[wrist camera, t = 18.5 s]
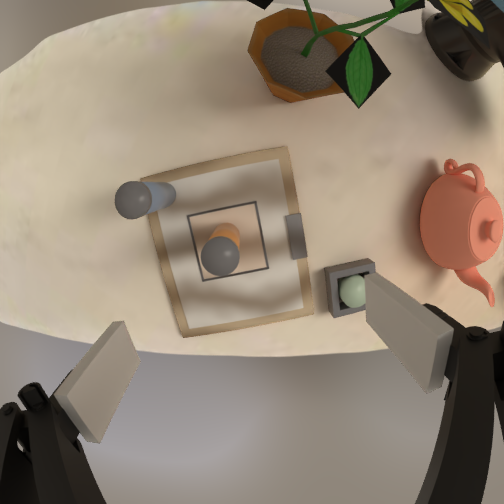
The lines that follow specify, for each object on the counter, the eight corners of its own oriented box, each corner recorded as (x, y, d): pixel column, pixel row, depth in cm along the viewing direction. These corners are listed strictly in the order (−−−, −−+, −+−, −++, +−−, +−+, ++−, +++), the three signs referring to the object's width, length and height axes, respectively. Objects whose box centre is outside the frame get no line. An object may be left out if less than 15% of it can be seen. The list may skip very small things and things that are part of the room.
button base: (324, 267, 39) (329, 273, 37) (367, 258, 39) (374, 262, 37) (329, 311, 41) (333, 318, 38) (370, 300, 41) (376, 306, 38)
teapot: (475, 270, 41) (518, 291, 29) (417, 296, 41) (460, 328, 29) (465, 155, 36) (515, 153, 24) (401, 165, 36) (454, 162, 24)
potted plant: (370, 123, 35) (543, 64, 5) (246, 152, 35) (261, 34, 6) (329, 24, 31) (414, -102, 1) (210, 44, 31) (171, -121, 2)
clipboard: (142, 178, 36) (138, 178, 34) (286, 147, 35) (288, 145, 34) (183, 335, 41) (182, 339, 40) (312, 311, 41) (315, 315, 39)
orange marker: (210, 226, 36) (195, 244, 25) (235, 218, 36) (232, 233, 25) (218, 251, 37) (207, 280, 25) (243, 243, 37) (244, 269, 25)
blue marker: (149, 185, 35) (110, 188, 23) (173, 178, 35) (143, 176, 23) (155, 210, 36) (120, 223, 24) (180, 203, 36) (153, 213, 24)
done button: (334, 275, 39) (341, 282, 36) (362, 269, 39) (370, 275, 36) (337, 302, 40) (343, 311, 37) (363, 296, 40) (371, 303, 37)
